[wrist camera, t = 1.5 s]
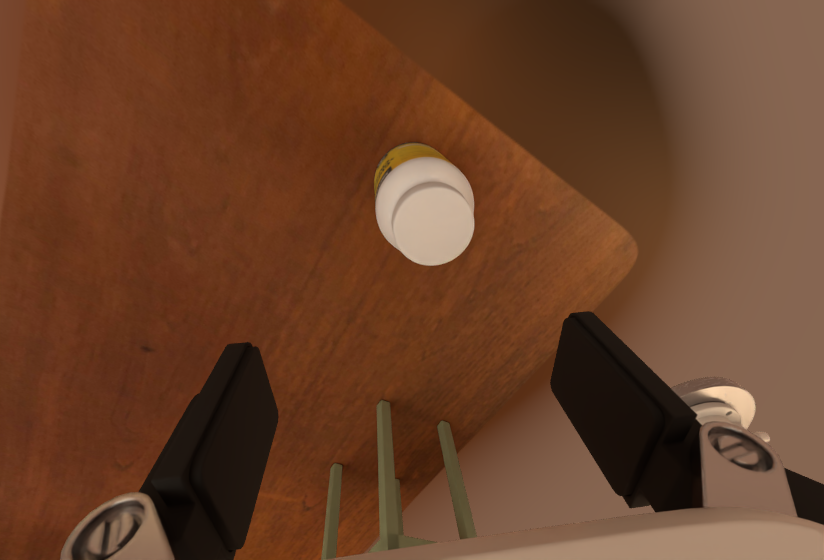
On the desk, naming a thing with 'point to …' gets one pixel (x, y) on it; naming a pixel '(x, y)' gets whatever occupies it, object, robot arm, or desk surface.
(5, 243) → the desk surface
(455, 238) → the pill bottle
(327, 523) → the mint side table
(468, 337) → the desk surface
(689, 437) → the robot arm
